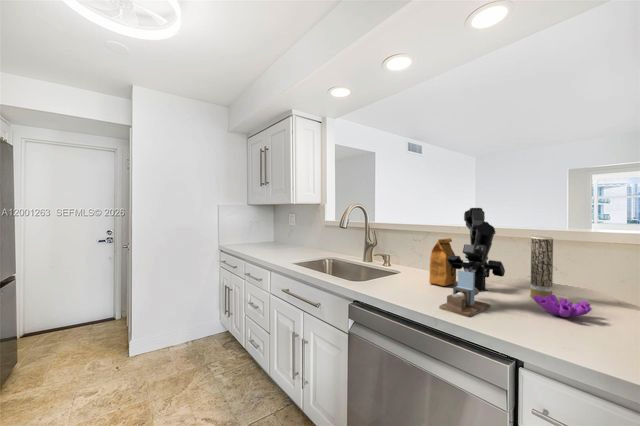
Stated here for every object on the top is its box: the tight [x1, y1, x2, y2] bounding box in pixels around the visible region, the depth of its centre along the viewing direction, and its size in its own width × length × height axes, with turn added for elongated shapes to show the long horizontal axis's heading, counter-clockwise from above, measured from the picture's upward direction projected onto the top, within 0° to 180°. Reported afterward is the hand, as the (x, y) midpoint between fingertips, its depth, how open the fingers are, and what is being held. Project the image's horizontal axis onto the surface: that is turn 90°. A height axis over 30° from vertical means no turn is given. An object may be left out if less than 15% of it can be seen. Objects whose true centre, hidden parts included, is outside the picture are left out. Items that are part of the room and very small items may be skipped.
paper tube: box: [530, 235, 554, 299], centre depth 109 cm, size 7×7×25 cm
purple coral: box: [532, 294, 593, 318], centre depth 92 cm, size 11×15×10 cm
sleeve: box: [455, 269, 475, 305], centre depth 99 cm, size 3×5×11 cm, turn 38°
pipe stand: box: [438, 288, 490, 318], centre depth 99 cm, size 17×10×6 cm, turn 128°
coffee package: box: [428, 238, 457, 287], centre depth 131 cm, size 10×12×22 cm
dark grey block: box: [452, 286, 471, 306], centre depth 97 cm, size 2×5×5 cm, turn 38°
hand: (467, 283), depth 100 cm, fingers closed, pressing on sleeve
